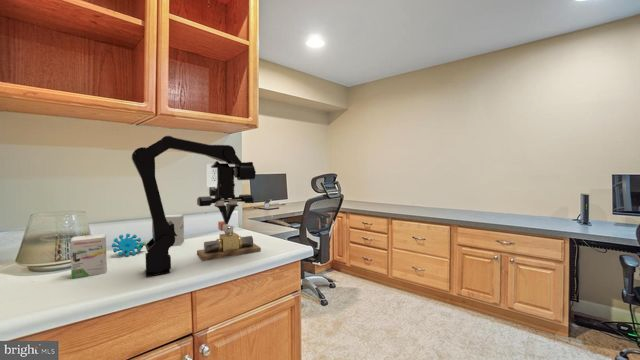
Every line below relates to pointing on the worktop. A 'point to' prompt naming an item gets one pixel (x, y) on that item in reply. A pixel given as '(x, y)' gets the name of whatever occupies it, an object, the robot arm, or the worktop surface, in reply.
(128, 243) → the blue spiky virus toy
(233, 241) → the valve pipe
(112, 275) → the worktop surface
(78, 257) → the white pink medicine box
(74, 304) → the worktop surface
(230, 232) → the valve lever
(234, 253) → the mount board
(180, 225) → the supplement box
